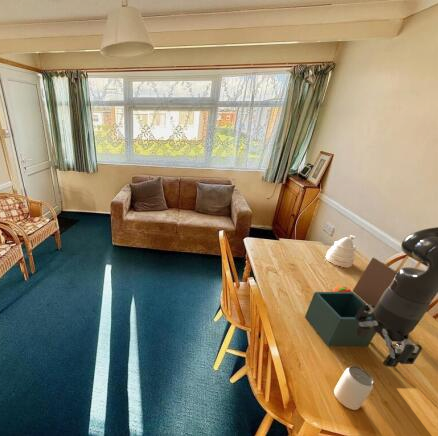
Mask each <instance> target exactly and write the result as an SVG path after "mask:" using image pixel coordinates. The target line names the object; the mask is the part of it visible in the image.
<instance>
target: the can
mask: <svg viewBox="0 0 438 436" xmlns="http://www.w3.org/2000/svg"><path fill="white" fill-rule="evenodd" d="M336 383H337V384H336V385H335V387H334V389H333V394H334V396H335V398H336V400H337V401H338V402H339V403H340V404H341V405H342V406H344V407H345V408H347V409H349V410H352V411H356V410H359V409H360V408H361V406H362V405H363V404H364V402H365V400H366V399H368V396H369V395H370V394H371V392H372V390H373V389H374V378H373V377H372V376H371V374H370V373H368V372H367V370H366V369H364V368H362V367H359V366H357V365H350V366H349V367H346V369H344V372H343V373H342V374H341V376H340V378H339V380H338V382H336Z"/></svg>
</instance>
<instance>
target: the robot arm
mask: <svg viewBox="0 0 438 436" xmlns="http://www.w3.org/2000/svg"><path fill="white" fill-rule="evenodd" d="M400 248H401V251H402V252H403V253H404V255H406V256H408V257H409V258H410V259H412V260H414V261H416V262H418V263H420V264H422V265H424V266H425V267H427V268H426V270H423V269H420V268H416V267H410V266H406V267H401V268H400V269H399V270H398V271H396V272H397V274H396V275H395V277H394V279H393V280H392V282H391V284H390V285H389V287H388V288H387V289H386V290H385V291H384V293H383V295H382V296H381V298H380V300H379V302H378V303H377V305H376V307H375V308H374V306H373V305H368V304H367V305H362V306H361V308H360V309H359V311H358V312H357V314H356V315H355V319H356V320H358V321H359V325H360V326H359V327H358V329H357V332H356V333H357V334H356V335H357V336H358V337H366V335H367V333H368V332H369V330H370V328H369V327H373V328H374V330H375V331H376V334H378V335H379V336H380V337H381V338H382V339H383V340H384V342H385V346H386V348H387V349H388V353H389V354H388V355H387V356H386V358H385V359H384V360H383V362H382V364H383V365H384V366H385V367H389V368H396V367H397V366H398V364H401V365H413V364H414V363H415V361H416V360H417V358H418V356H419V355H420V353H421V351H422V350H423V347H422V345H420V344H419V343H414V342H413V341H411V340H410V338H409V334H410V333H412V332H413V331H414V330H415V329H416V327H417V325H419V323H420V321H421V320H422V318H423V317H424V316H425V315H426V313H427V311H428V310H429V307H430V304H431V303H432V301H433V300H434V299H435V297H436V296H437V294H438V226H436V227H429V228H424V229H419V230H417V231H414V232H412V233H410V234H409V235H407V236H406V237H405V238H404V239H403V240H402V242H401V247H400ZM370 314H371V318H372V321H367V318H368V317H369V315H370ZM393 342H394V343H393ZM395 342H396V343H395Z"/></svg>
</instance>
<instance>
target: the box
mask: <svg viewBox="0 0 438 436" xmlns="http://www.w3.org/2000/svg"><path fill="white" fill-rule="evenodd" d="M362 305H368V304H367V303H366V302H365V301H363V300H362V299H361V298H360V297H359V296H358V295H356V294H355V293H354V292H353V291H352V292H334V291H314V292H313V296H312V298H311V301H310V302H309V305H308V308H307V310H306V313H305V315H304V318H305V319H306V321H307V322H308V323H309V325H310V326H311V327H312V328H313V330H314V331H315V332H316V334H317V336H319V338H320V339H321V341H323V343H324V344H325V345H326V346H327V347H369V345H371V342H372V340H373V339H374V337H376V334H377V332H376V331H375V330H374V328H373V327H369V328H370V330H369V332H368V333H367V335H366V337H358V336H357V335H356V334H357V333H356V332H357V329H358V327H359V326H360V325H359V321H358V320H356V319H355V315H356V314H357V312H358V311H359V309H360V308H361V306H362ZM367 321H372V318H371V314H370V315H369V317H368V318H367Z"/></svg>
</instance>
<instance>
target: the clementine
mask: <svg viewBox="0 0 438 436" xmlns="http://www.w3.org/2000/svg"><path fill="white" fill-rule="evenodd" d="M333 292H353V290H351V289H350V288H349V287H347V286H345V285H338V286H335V288H333Z"/></svg>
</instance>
